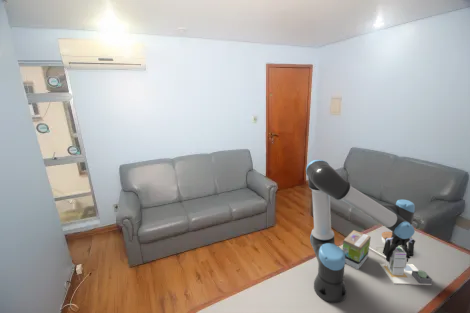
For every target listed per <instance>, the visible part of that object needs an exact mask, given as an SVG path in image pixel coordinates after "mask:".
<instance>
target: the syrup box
mask: <svg viewBox="0 0 470 313" xmlns="http://www.w3.org/2000/svg"><path fill="white" fill-rule="evenodd" d="M391 257H392V264H391V268H389V267H388V265H387V268H388V269H389V271H390V272H391V274H392V275H403V273H404V267H405V260H406V252H405V251H404V250H403V247H402V245H401V246H398V247H396V249H395V250H394V251H393V254H392V256H391Z"/></svg>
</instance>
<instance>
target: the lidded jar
mask: <svg viewBox="0 0 470 313" xmlns="http://www.w3.org/2000/svg"><path fill="white" fill-rule="evenodd" d="M386 237H387V238H391V237H392V231H383V232H382V233H381V243H382V244H383V246H385V242H386V240H385V238H386ZM391 242H392V241H391ZM391 244H392V243H391ZM390 246H391V245H390ZM399 246H401V247H402V245H399Z"/></svg>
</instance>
